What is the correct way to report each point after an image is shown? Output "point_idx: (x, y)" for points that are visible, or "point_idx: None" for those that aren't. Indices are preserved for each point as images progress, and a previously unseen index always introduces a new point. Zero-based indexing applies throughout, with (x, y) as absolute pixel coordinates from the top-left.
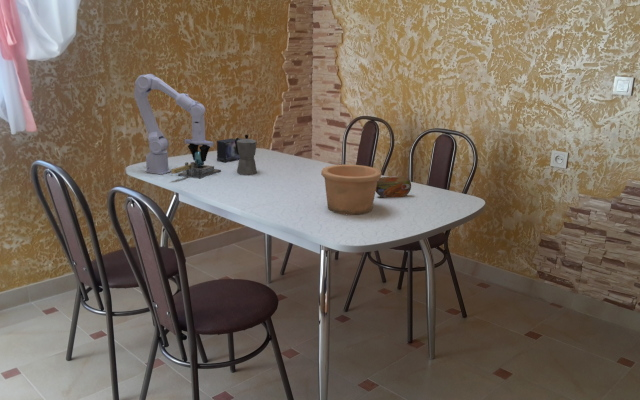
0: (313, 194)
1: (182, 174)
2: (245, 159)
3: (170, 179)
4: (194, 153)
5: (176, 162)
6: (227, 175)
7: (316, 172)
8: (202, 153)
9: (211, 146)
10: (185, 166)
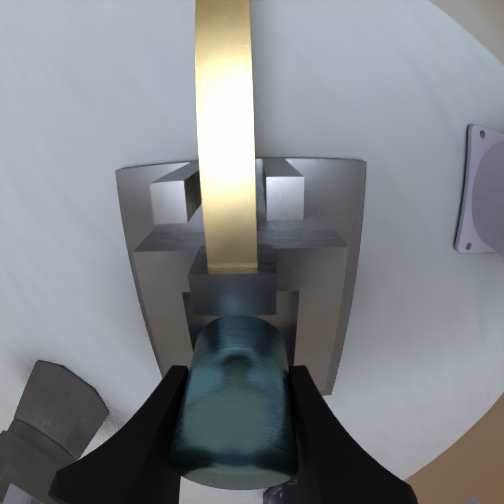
0: None
1: (318, 158)
2: (14, 421)
3: (318, 13)
4: (278, 431)
5: (473, 387)
6: (73, 330)
7: (4, 419)
8: (130, 434)
9: (14, 487)
10: (203, 75)
